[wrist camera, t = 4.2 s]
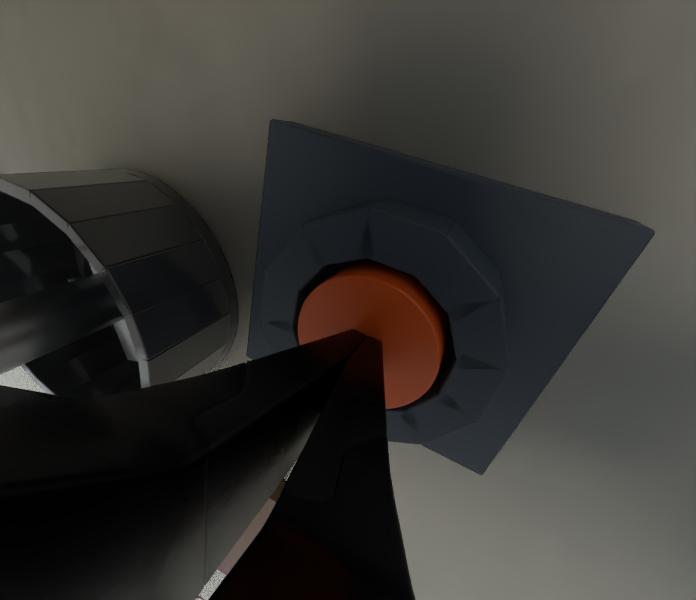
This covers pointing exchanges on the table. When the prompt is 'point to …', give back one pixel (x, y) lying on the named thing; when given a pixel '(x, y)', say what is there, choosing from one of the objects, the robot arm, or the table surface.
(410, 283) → the button
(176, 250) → the dark fan housing
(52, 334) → the blade
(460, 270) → the button block
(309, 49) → the table surface
